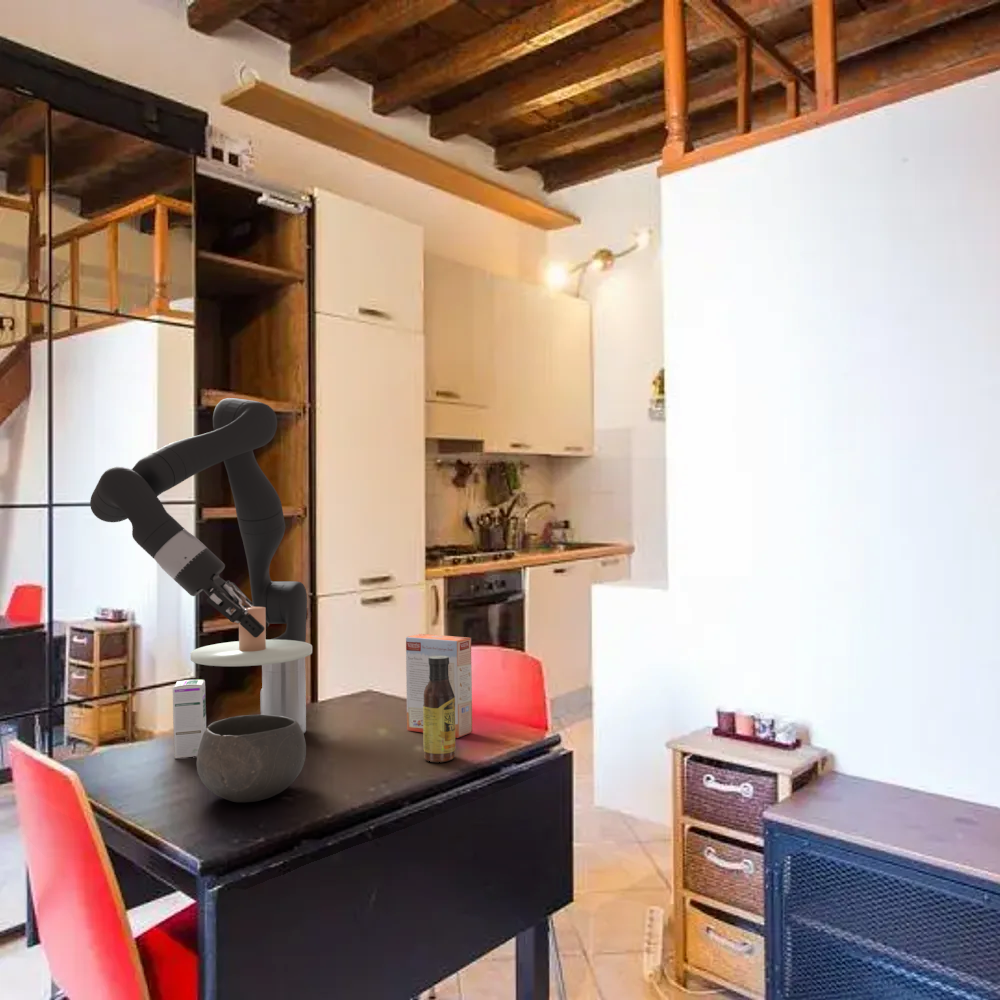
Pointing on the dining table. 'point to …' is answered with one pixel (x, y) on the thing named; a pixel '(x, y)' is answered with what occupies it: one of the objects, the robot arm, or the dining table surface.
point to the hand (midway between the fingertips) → (262, 631)
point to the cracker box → (458, 674)
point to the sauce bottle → (438, 713)
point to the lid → (251, 648)
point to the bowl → (251, 756)
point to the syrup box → (188, 716)
